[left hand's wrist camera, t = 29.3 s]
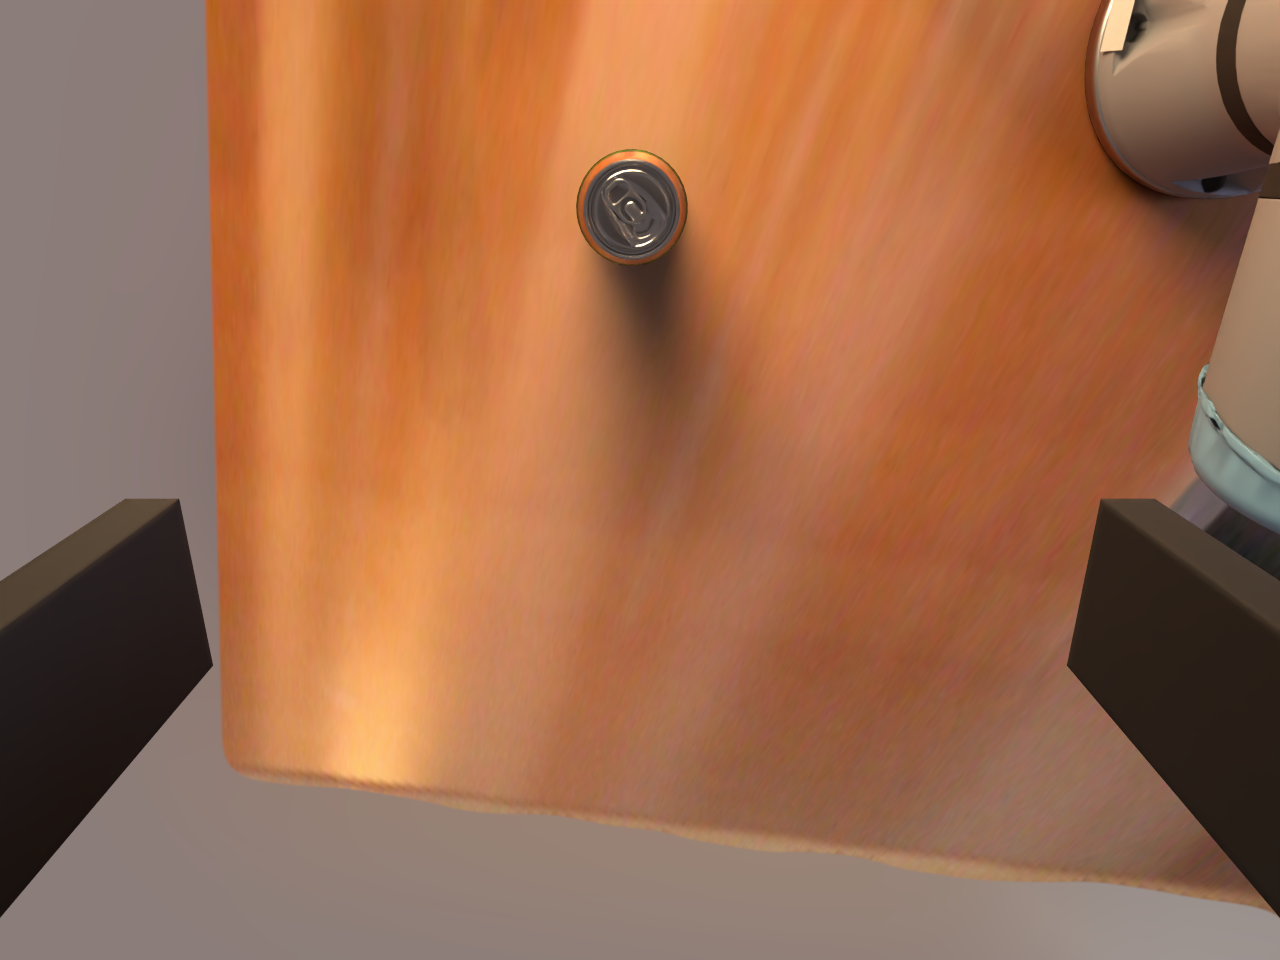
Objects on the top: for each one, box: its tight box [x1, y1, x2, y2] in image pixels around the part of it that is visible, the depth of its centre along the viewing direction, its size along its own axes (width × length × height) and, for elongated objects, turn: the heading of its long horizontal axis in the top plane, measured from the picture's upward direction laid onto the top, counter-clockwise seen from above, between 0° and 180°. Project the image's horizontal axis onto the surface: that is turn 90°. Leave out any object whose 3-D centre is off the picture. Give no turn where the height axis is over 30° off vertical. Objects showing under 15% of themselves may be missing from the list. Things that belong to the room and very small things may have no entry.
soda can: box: [576, 149, 687, 266], centre depth 43 cm, size 5×5×12 cm
